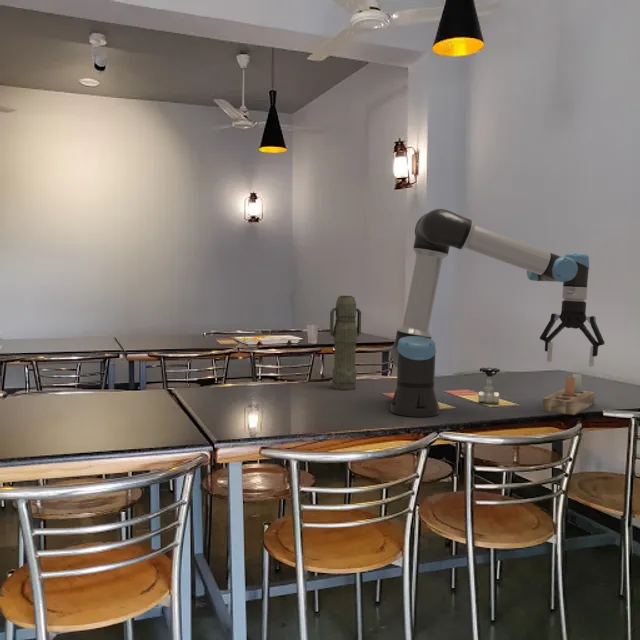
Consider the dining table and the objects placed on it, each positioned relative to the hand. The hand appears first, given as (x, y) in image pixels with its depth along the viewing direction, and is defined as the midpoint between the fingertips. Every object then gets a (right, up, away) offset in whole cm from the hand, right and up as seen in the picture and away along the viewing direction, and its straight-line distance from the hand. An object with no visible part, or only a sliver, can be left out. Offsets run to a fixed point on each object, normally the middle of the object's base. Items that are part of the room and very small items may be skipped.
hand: (569, 363), depth 213 cm
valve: (-26, -14, +4) cm, 30 cm away
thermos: (-74, -11, +28) cm, 80 cm away
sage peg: (+5, -14, +7) cm, 17 cm away
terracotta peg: (0, -15, +1) cm, 15 cm away
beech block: (0, -15, +1) cm, 15 cm away
